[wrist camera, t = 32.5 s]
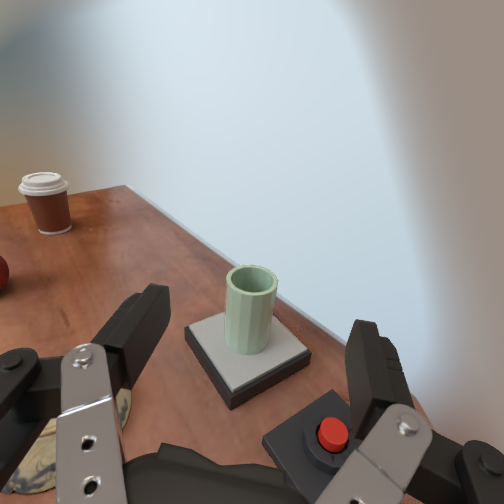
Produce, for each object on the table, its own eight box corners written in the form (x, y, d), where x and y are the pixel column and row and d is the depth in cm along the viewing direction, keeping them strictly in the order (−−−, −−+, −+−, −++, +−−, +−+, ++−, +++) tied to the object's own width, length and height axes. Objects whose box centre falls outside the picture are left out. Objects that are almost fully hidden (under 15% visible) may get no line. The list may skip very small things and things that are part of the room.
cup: (252, 315, 47) (258, 260, 42) (277, 343, 42) (288, 285, 37) (215, 330, 43) (217, 272, 38) (239, 362, 39) (245, 301, 34)
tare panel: (330, 395, 39) (335, 380, 38) (391, 460, 33) (400, 445, 32) (261, 443, 34) (264, 427, 32) (320, 532, 28) (327, 518, 26)
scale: (256, 310, 52) (257, 296, 51) (308, 364, 43) (312, 349, 42) (184, 339, 45) (184, 324, 44) (230, 410, 37) (231, 395, 35)
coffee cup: (40, 220, 73) (25, 170, 67) (82, 219, 75) (71, 170, 69) (25, 238, 66) (7, 184, 60) (72, 236, 68) (59, 184, 62)
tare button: (330, 420, 34) (333, 412, 33) (350, 442, 32) (354, 434, 31) (312, 434, 32) (315, 425, 32) (332, 458, 30) (335, 450, 30)
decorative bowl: (48, 351, 42) (-70, 473, 29) (41, 331, 40) (-88, 452, 27) (153, 374, 40) (78, 513, 27) (151, 354, 38) (70, 494, 25)
